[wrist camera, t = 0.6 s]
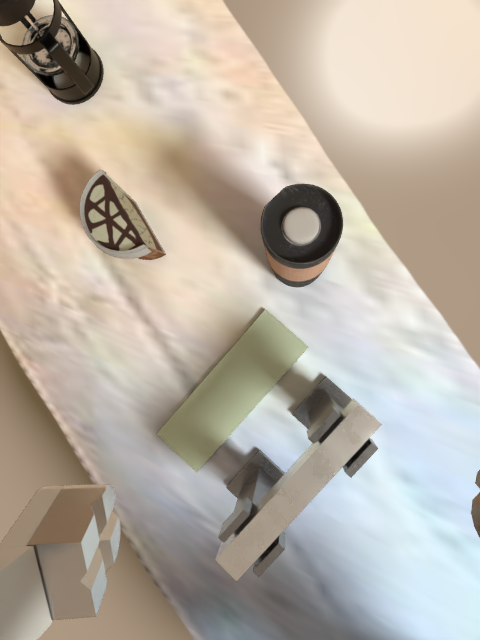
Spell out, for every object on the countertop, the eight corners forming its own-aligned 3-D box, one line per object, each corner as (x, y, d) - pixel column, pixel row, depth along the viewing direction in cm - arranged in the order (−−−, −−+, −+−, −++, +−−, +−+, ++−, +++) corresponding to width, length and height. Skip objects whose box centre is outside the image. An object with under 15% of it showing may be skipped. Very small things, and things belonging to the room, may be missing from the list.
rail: (375, 417, 41) (381, 424, 38) (240, 564, 43) (236, 581, 40) (353, 398, 41) (358, 403, 38) (220, 544, 43) (215, 560, 40)
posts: (365, 410, 53) (394, 442, 38) (264, 520, 54) (254, 592, 39) (325, 376, 54) (339, 393, 39) (227, 485, 55) (204, 542, 40)
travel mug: (323, 290, 54) (343, 266, 34) (269, 288, 55) (257, 264, 35) (325, 236, 54) (346, 181, 34) (271, 235, 55) (260, 182, 35)
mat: (308, 346, 54) (308, 347, 53) (197, 471, 56) (196, 472, 55) (265, 309, 55) (265, 309, 54) (157, 432, 57) (156, 433, 56)
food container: (97, 215, 59) (58, 192, 49) (131, 194, 58) (98, 165, 48) (136, 284, 58) (104, 274, 48) (170, 262, 57) (145, 248, 47)
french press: (33, 72, 61) (-121, -82, 38) (75, 30, 60) (-56, -154, 37) (78, 124, 60) (-53, -3, 37) (122, 81, 59) (16, -76, 36)
